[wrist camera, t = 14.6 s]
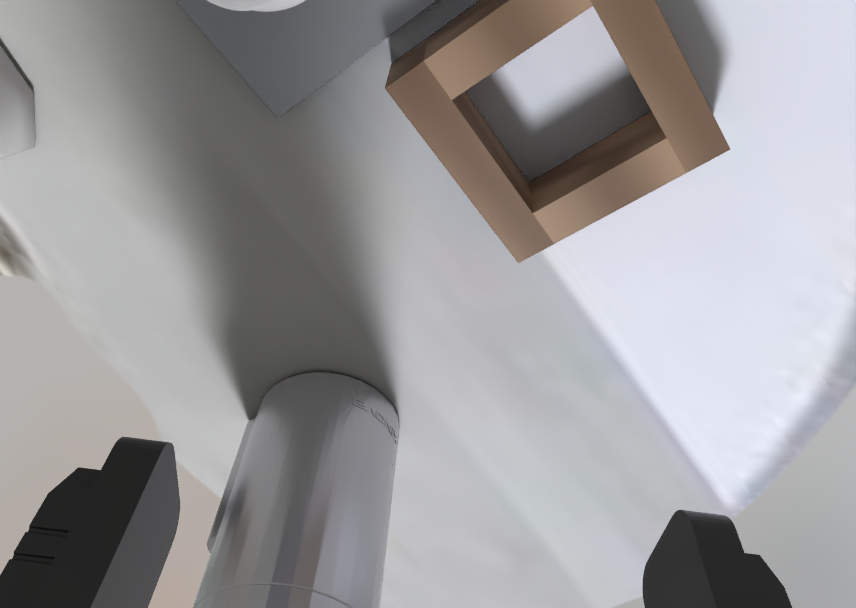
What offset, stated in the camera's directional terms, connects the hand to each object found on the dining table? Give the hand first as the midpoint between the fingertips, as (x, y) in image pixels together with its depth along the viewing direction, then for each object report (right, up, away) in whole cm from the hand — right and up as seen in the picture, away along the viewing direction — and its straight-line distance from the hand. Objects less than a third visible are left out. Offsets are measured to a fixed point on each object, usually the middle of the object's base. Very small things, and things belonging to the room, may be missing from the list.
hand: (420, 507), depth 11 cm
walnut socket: (+6, +13, +21) cm, 25 cm away
